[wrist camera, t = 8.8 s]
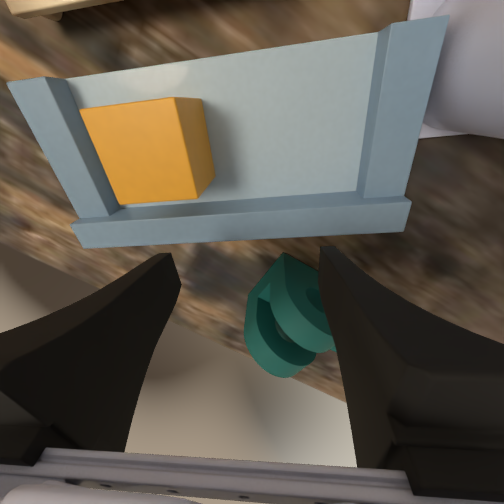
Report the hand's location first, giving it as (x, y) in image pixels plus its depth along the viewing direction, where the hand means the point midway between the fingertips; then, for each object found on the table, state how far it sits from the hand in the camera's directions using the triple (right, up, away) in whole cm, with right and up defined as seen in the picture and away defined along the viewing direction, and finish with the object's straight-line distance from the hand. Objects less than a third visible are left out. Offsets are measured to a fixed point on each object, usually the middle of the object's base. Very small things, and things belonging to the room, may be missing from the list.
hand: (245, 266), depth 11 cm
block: (-5, +8, +4) cm, 10 cm away
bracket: (+9, -6, +15) cm, 18 cm away
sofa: (-1, +9, +6) cm, 11 cm away
